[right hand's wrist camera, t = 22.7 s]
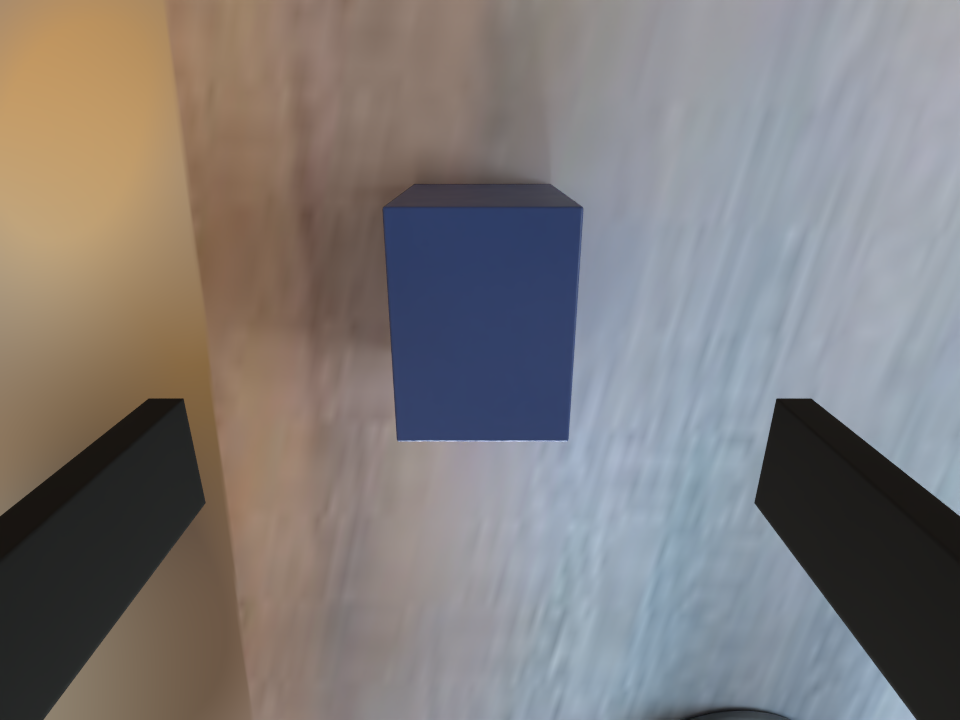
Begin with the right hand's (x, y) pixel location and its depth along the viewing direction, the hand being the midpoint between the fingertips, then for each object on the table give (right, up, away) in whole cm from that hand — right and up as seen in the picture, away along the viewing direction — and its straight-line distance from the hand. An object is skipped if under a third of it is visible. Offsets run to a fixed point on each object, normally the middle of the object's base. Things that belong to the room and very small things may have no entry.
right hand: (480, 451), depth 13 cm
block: (0, +6, +16) cm, 17 cm away
